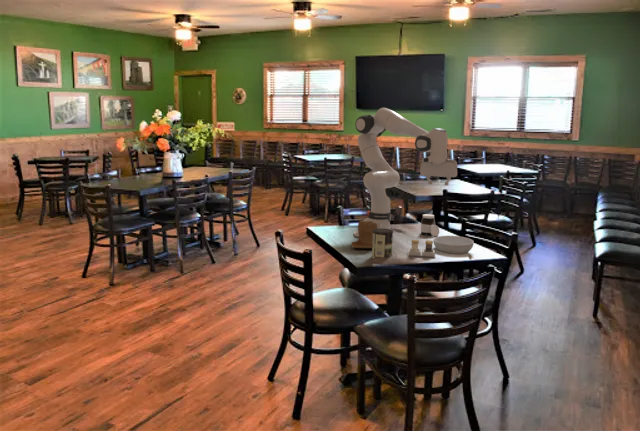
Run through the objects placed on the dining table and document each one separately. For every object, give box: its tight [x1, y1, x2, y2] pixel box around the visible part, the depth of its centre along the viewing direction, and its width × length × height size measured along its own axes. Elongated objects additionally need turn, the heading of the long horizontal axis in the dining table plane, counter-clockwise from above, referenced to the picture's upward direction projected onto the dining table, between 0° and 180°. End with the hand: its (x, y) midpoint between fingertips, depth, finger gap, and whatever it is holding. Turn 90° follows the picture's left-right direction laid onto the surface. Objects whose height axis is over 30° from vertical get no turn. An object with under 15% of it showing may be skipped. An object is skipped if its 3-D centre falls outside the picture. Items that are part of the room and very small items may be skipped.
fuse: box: [411, 239, 420, 251], centre depth 286 cm, size 4×4×8 cm
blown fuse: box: [424, 240, 434, 252], centre depth 285 cm, size 4×4×8 cm
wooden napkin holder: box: [351, 220, 377, 249], centre depth 304 cm, size 15×12×15 cm
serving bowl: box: [432, 235, 475, 255], centre depth 299 cm, size 21×21×7 cm
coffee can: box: [371, 228, 394, 259], centre depth 285 cm, size 10×10×14 cm
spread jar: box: [420, 213, 440, 237], centre depth 338 cm, size 12×11×12 cm
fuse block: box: [407, 247, 437, 260], centre depth 287 cm, size 14×10×4 cm
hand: (438, 184), depth 302 cm, fingers open, 8 cm apart
